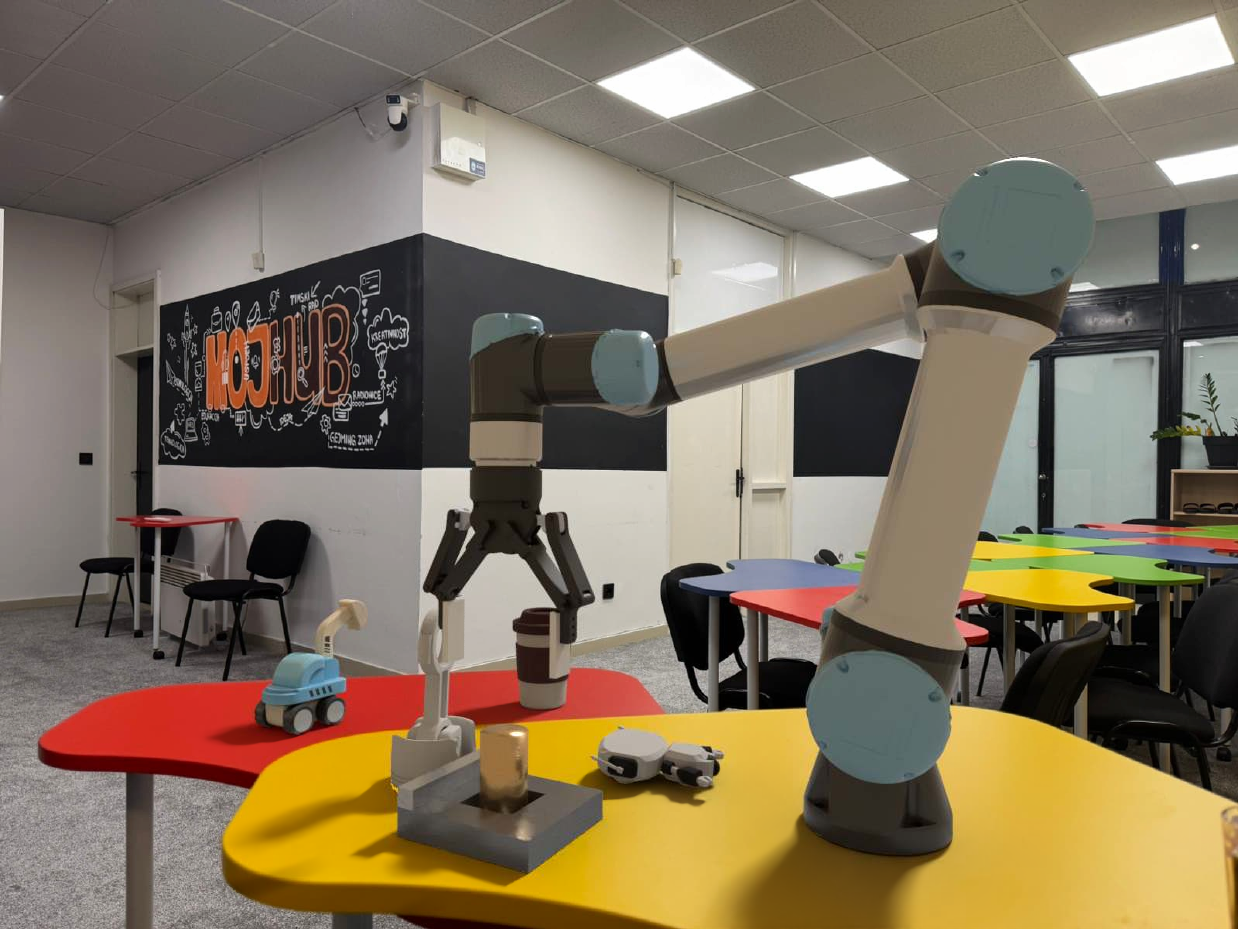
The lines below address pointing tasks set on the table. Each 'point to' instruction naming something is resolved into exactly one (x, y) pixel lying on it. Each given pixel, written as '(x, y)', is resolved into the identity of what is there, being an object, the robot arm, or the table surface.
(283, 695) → the toy excavator
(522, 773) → the copper cylinder rod
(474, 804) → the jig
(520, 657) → the coffee cup
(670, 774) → the robot toy
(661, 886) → the table surface
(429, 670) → the engine component
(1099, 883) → the table surface
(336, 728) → the table surface
